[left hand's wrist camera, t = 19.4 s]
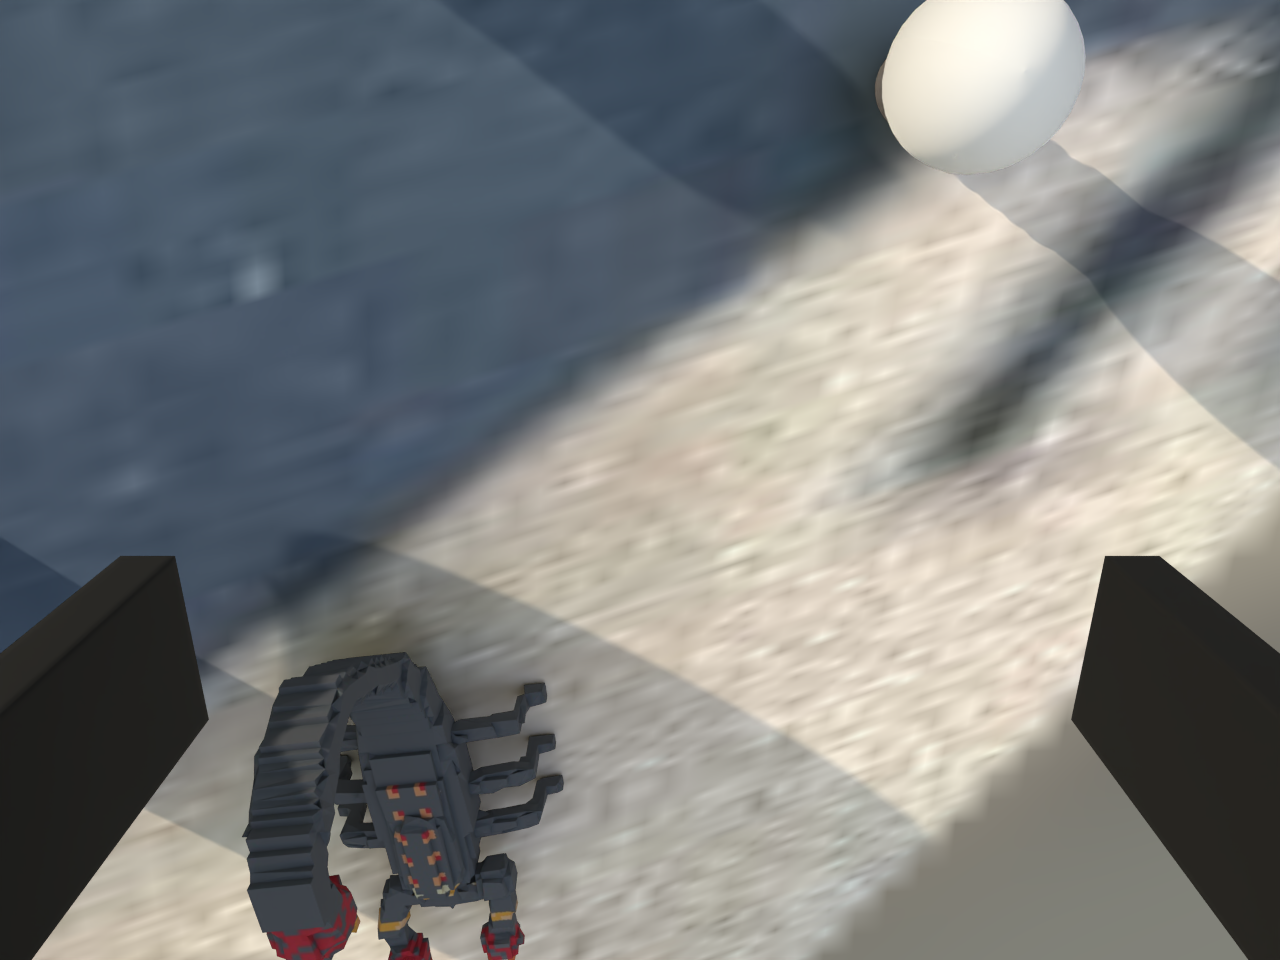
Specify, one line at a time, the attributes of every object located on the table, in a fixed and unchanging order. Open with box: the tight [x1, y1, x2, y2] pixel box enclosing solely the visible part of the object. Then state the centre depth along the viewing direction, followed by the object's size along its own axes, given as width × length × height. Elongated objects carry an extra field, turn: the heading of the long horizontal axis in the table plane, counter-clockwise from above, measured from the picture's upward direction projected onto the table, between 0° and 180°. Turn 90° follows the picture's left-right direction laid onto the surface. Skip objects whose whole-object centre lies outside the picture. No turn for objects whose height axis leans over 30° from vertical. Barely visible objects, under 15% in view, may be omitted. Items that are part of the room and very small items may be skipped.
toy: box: [242, 652, 564, 960], centre depth 44 cm, size 13×27×18 cm, turn 7°
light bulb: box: [875, 0, 1085, 175], centre depth 34 cm, size 7×7×11 cm
